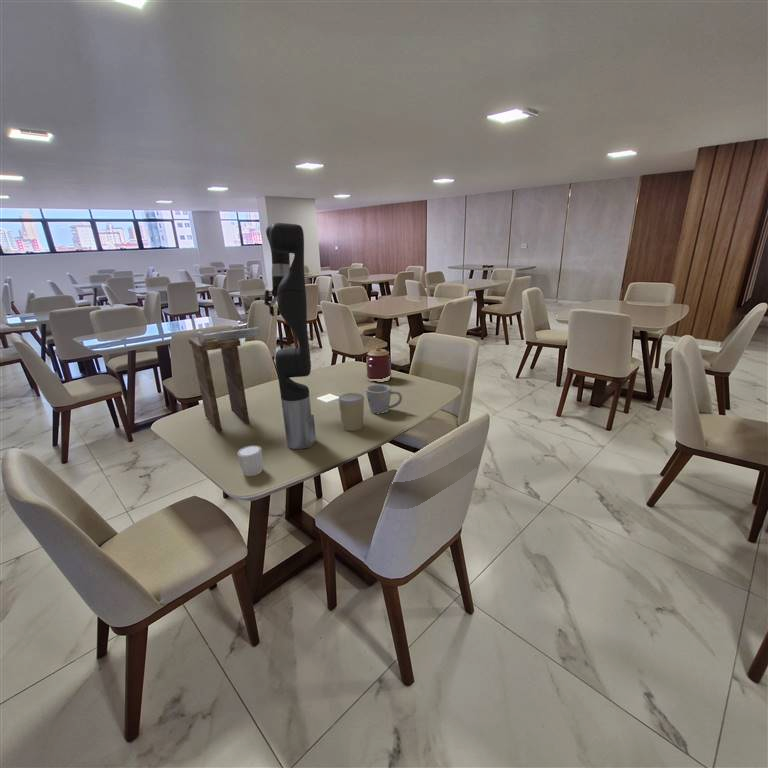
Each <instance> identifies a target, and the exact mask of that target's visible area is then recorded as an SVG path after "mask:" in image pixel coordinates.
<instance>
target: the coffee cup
mask: <svg viewBox="0 0 768 768" xmlns="http://www.w3.org/2000/svg"><path fill="white" fill-rule="evenodd" d="M364 400H365V398H364V395H363V394H362V393H357V392H347V393H343V394H341V395H339V397H338V400H337V401H338V403H339V405H338V406H339V411H340V412H339V413H340V419H341V425H342V429H343V430H345V431H347V432H355V431H360V430H362V429H363V428H362V427H364V411H365V410H364V407H365V405H364V402H365V401H364ZM359 429H360V430H359Z"/></svg>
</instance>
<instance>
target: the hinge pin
mask: <svg viewBox="0 0 768 768" xmlns="http://www.w3.org/2000/svg"><path fill="white" fill-rule="evenodd" d="M196 335H197V337H198V341H199V343H200V344H205V341H212V340H218V342H220V341H227V340H234V339H238V340H240V339H248V338H254V337H261V336H262V328H261V327H259V326H256V327H255V326H254V327H249V328H241V329H231V330H225V331H216V332H210V333H208V332H207V333H203V332H202V331H201V330H200V331H196Z"/></svg>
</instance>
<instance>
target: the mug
mask: <svg viewBox="0 0 768 768" xmlns="http://www.w3.org/2000/svg"><path fill="white" fill-rule="evenodd" d="M365 392H366V396H367V397H366V398H367V401H368V406H369V412H370V413H371V412H374V413H382V412H385V411H387V410H388V409H389V410H390V409H393V408H396V407H397V406H399V405H400V404H401V403H402V401H403V396H402V394H401V393H400V391H395V390H393V391H392V387H391V386H390V385H387V384H381V383H380V384H372V385H369V386H367V387H365ZM393 394H394V395H398V396H399V399H398V400H397V402H395V403H394V404H391V405H390V401H391V395H393ZM374 413H373V414H374Z"/></svg>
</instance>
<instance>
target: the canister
mask: <svg viewBox="0 0 768 768" xmlns="http://www.w3.org/2000/svg"><path fill="white" fill-rule="evenodd" d="M366 354H367V356H366V357H365V359H366V378H367V377H368V378H369V379H383V378H386V377H388V376H390V375H391V376H392V363H391V358H392V357H391V355H390V352H389V351H388V350H386V349H383V348H381V346H376V347H375V348H373V349H371V350H369V351H368V352H367V353H366Z"/></svg>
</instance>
